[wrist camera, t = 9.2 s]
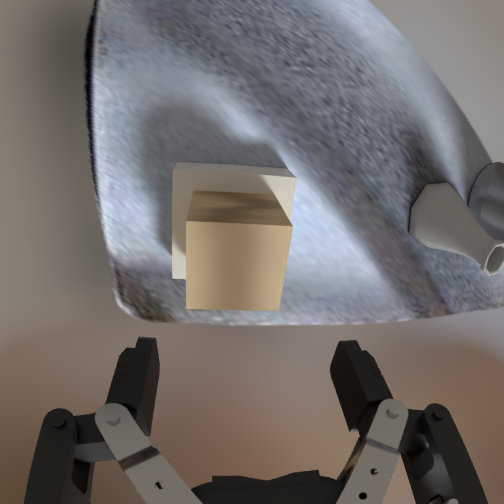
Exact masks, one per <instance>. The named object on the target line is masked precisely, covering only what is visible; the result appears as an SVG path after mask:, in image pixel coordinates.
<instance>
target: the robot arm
mask: <svg viewBox="0 0 504 504" xmlns="http://www.w3.org/2000/svg"><path fill="white" fill-rule="evenodd" d="M469 209H470V211H471V212H472V214H473V215H474V217H475V218H476V220H477V221H478V223H479V224H480V226H481V227H482V229H483V230H484V231H485V232H486V233H487V234H488V235H489V236H491V237H492V238H493V239H495V240H496V241H499V240H501V241H503V242H504V163H501V162H495V163H491V164H490V165H488V166H487V167H485V168H484V169H483V171H482V172H481V173H480V174H479V176H478V177H477V179H476V181H475V183H474V185H473V188H472V191H471V194H470V199H469ZM159 372H160V362H159V355H158V348H157V341H156V338H148V337H138V340H137V343H136V347H135V348H126V349H125V350H124V351H123V352H122V353H121V355H120V356H119V359H118V362H117V367H116V369H115V372H114V373H115V374H114V376H113V379H112V382H111V386H110V389H109V393H108V397H107V400H106V403H105V405H103V406H102V407H100V408H99V409H98V410H97V412H95V413H92V414H87V415H80V416H73V414H72V413H71V412H70V411H68V410H66V409H61V408H59V409H54V410H52V411H50V412H48V414H47V415H46V416H45V418H44V420H43V423H42V427H41V430H40V434H39V438H38V441H37V446H36V449H35V453H34V457H33V462H32V466H31V470H30V474H29V479H28V484H27V489H26V494H25V500H24V504H90V499H91V489H92V480H93V472H94V465H95V462H99V461H107V460H115V459H116V460H117V462H118V464H119V465H120V467H121V468H122V470H123V472H124V473H125V475H126V476H127V478H128V479H129V481H130V482H131V484H132V485H133V487H134V488H135V489H136V491H137V492H138V494H139V495H140V497H141V498H142V499H143V501H144V502H145V504H381V503H382V501H383V498H384V495H385V493H386V491H387V488H388V486H389V483H390V480H391V478H392V475H393V473H394V470H395V467H396V464H397V462H398V458H399V455H400V454H401V457H402V460H403V463H404V466H405V469H406V472H407V476H408V479H409V482H410V485H411V489H412V492H413V495H414V499H415V502H416V504H488V502H487V499H486V496H485V494H484V491H483V488H482V486H481V483H480V481H479V478H478V476H477V473H476V471H475V468H474V466H473V463H472V461H471V459H470V456H469V454H468V452H467V450H466V447H465V445H464V443H463V440H462V438H461V436H460V434H459V432H458V429H457V427H456V425H455V423H454V421H453V419H452V417H451V415H450V412H449V411H448V410H447V408H445V407H444V406H443V405H440V404H437V403H433V404H430V405H428V406H427V407H426V409H425V410H424V411H423V410H411V409H407V407H406V406H405V405H404V404H403V403H402V402H400V401H398V400H395V399H394V398H393V396H392V394H391V392H390V390H389V388H388V386H387V384H386V382H385V380H384V378H383V376H382V375H381V371H380V369H379V368H378V365H377V363H376V361H375V359H374V358H373V357H372V356H371V355H370V354H369V353H368V352H367V351H366V350H364V351H362V350H361V348H360V346H359V344H358V342H357V341H356V340H347V341H340V342H339V343H338V345H337V348H336V351H335V354H334V356H333V360H332V362H331V366H330V374H331V378H332V381H333V384H334V387H335V390H336V393H337V395H338V399H339V402H340V405H341V408H342V410H343V414H344V417H345V419H346V423H347V425H348V429H349V432H356V431H358V432H359V434H360V437H359V438H358V440H357V442H356V444H355V446H354V448H353V451H352V452H351V454H350V456H349V458H348V460H347V462H346V464H345V466H344V468H343V470H342V471H341V473H340V475H339V476H338V478H337V479H336V480H335V479H333V478H329V477H325V476H320V474H319V470H312V471H304V472H295V473H291V474H288V475H285V476H282V477H279V478H275V479H272V480H259V479H253V478H248V477H243V476H212V482H207V483H204V484H201V485H198V486H196V487H194V488H192V489H191V490H190V489H189V488H188V486H187V485H186V484H185V483H184V482H183V481H182V479H181V478H180V477H179V476H178V475H177V473H176V472H175V471H174V470H173V469H172V467H171V466H170V464H169V463H168V462H167V461H166V460H165V458H164V457H163V455H162V454H161V453H160V452H159V451H158V450H157V449H156V448H154V447H152V445H151V443H150V442H149V441H148V439H147V438H146V436H150V434H151V426H152V419H153V412H154V406H155V399H156V393H157V386H158V380H159Z"/></svg>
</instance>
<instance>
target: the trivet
mask: <svg viewBox="0 0 504 504" xmlns="http://www.w3.org/2000/svg"><path fill="white" fill-rule="evenodd" d="M295 185H296V177H295V176H294V175H293V174H292V173H291V171H290V170H289V169H284V168H273V167H261V166H248V165H233V164H216V163H195V162H177V164H176V165H175V167H174V169H173V176H172V271H173V278H176V279H186V220H187V215H188V211H189V207H190V203H191V198H192V194H193V190H194V191H217V192H236V193H253V194H268V195H275V196H276V198H277V199H278V201H279V203H280V205H281V206H282V208H283V210H284V212H285V213H286V215H287V217H288V219H289V221H290V218H291V212H292V205H293V199H294V192H295Z"/></svg>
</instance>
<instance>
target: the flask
mask: <svg viewBox="0 0 504 504" xmlns="http://www.w3.org/2000/svg"><path fill="white" fill-rule="evenodd" d="M409 235H411V236H412V237H413V238H415V239H416V240H417V241H419V242H420V243H422V244H423V245H424V246H427V247H431V248H436V249H441V250H446V251H450V252H454V253H458V254H461V255H465V256H467V257H469V258H471V259H473V260H474V261H476V262H478V263H479V264H480V265H481V269H482V270H483V271H484V272H485V273H486V274H487V275H488V276H491V275H494V274H497V273H498V272H499V271H500V269H501V268H502V266H503V265H504V242H503V241H501V240H499V241H496V240H495V239H493V238H492V237H491V236H489V235H488V234H487V233H486V232H485V231H484V230H483V229H482V227H481V226H480V224H479V223H478V221H477V220H476V218H475V217H474V215H473V214H472V212H471V211H470V209H469V208H468V206H467V205H466V203H465V201H464V200H463V199H462V197H461V196H460V195H459V194H458V193H457V192H456V191H455V190H454V189H453V188H452V187H451V186H450V185H449V184H448V183H438V184H427V185H426V186H425V188H424V189H423V191H422V192H421V194H420V195H419V197H418V199H417V200H416V202H415V203H414V205H413V206H412V208H411V220H410V231H409Z"/></svg>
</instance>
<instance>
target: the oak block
mask: <svg viewBox="0 0 504 504" xmlns="http://www.w3.org/2000/svg"><path fill="white" fill-rule="evenodd" d="M292 228H293V226H292V224H291V222H290V221H289V219H288V217H287V215H286V213H285V212H284V210H283V208H282V206H281V205H280V203H279V201H278V199H277V198H276V196H275V195H268V194H253V193H236V192H217V191H194V190H193V194H192V198H191V203H190V207H189V211H188V215H187V220H186V309H209V310H253V311H279V305H280V299H281V294H282V288H283V282H284V276H285V271H286V265H287V259H288V253H289V247H290V240H291V234H292Z"/></svg>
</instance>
